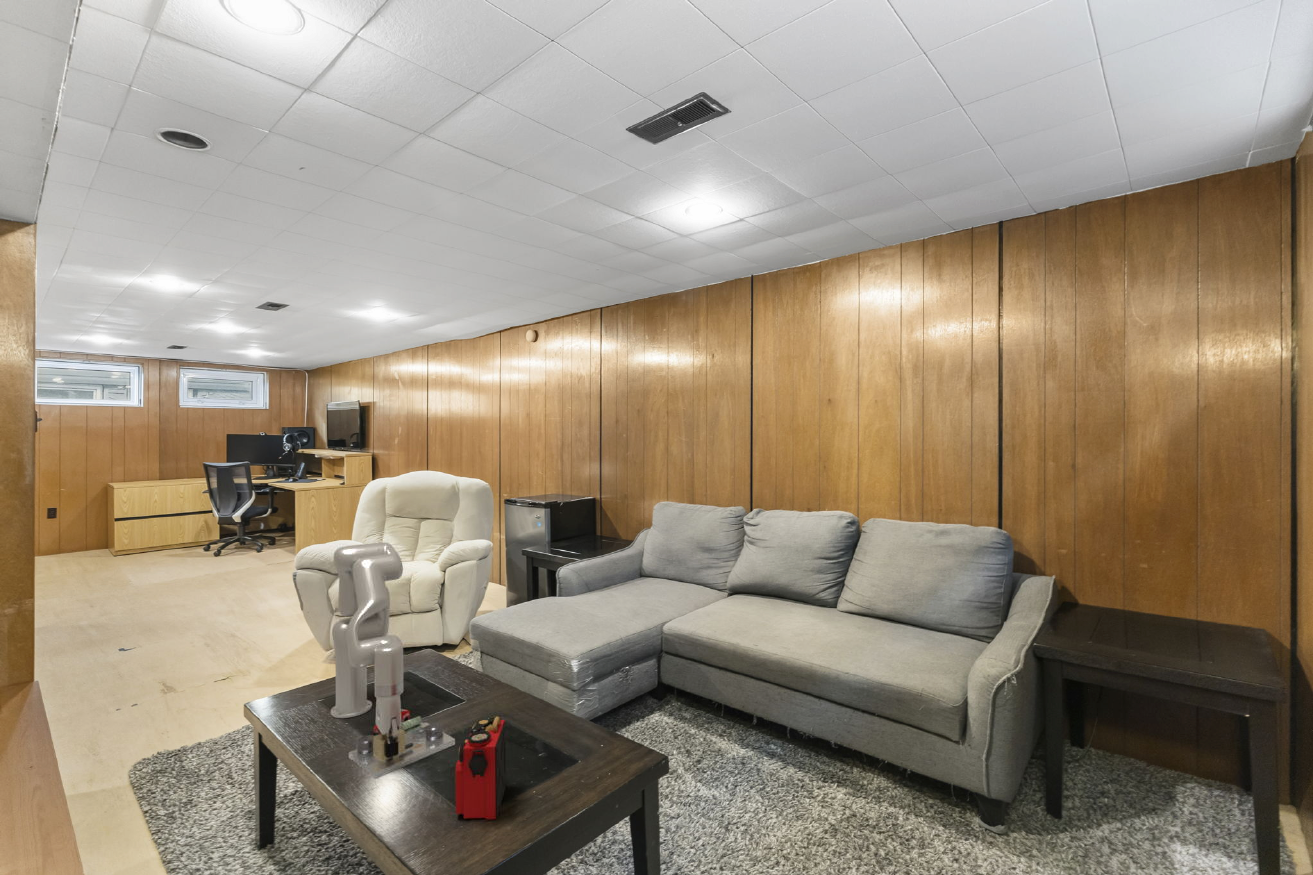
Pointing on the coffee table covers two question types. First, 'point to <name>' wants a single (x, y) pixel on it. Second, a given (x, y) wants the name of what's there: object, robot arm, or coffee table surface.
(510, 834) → the coffee table surface
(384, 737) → the wooden rectangular block
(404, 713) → the race car
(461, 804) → the radio
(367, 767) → the levelling base
